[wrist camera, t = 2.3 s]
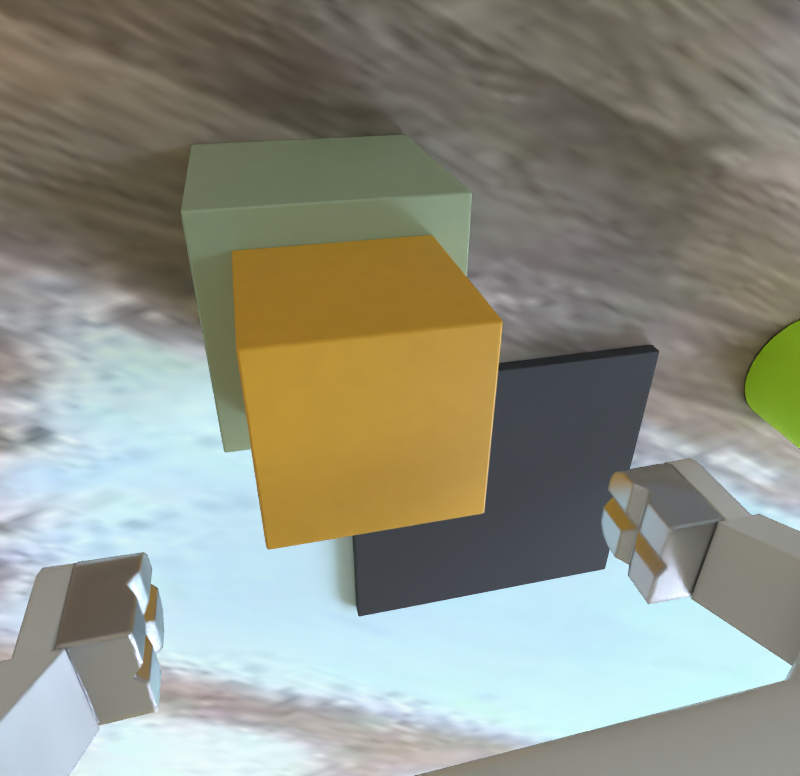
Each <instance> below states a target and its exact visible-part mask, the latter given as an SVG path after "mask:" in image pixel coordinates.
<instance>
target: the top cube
mask: <svg viewBox="0 0 800 776" xmlns="http://www.w3.org/2000/svg"><path fill="white" fill-rule="evenodd" d="M231 254H232V276H233V297H234V318H235V339H236V354H237V361H238V367H239V374H240V380H241V387H242V393H243V400H244V406H245V413H246V419H247V425H248V432H249V438H250V445H251V451H252V458H253V464H254V471H255V477H256V484H257V490H258V497H259V503H260V510H261V516H262V523H263V529H264V536H265V542H266V547H267V549H275V548H281V547H287V546H293V545H299V544H305V543H311V542H317V541H323V540H329V539H335V538H341V537H346V536H352V535H358V534H364V533H370V532H376V531H382V530H388V529H394V528H400V527H406V526H412V525H418V524H423V523H429V522H435V521H441V520H447V519H453V518H459V517H465V516H471V515H477V514H482V513H484V510H485V499H486V489H487V479H488V469H489V459H490V448H491V438H492V428H493V418H494V408H495V397H496V387H497V377H498V367H499V357H500V346H501V336H502V326H503V321H502V320H501V318H500V317H499V316H498V315H497V313H496V312H495V311H494V310H493V309H492V307H491V306H490V305H489V304H488V302H487V301H486V300H485V299H484V297H483V296H482V295H481V294H480V293H479V291H478V290H477V289H476V288H475V286H474V285H473V284H472V283H471V282H470V280H469V279H468V278H467V277H466V275H465V274H464V273H463V272H462V271H461V269H460V268H459V267H458V266H457V264H456V263H455V262H454V261H453V259H452V258H451V257H450V256H449V255H448V253H447V252H446V251H445V250H444V248H443V247H442V246H441V245H440V244H439V242H438V241H437V240H436V239H435V237H434V236H433V235H424V236H411V237H399V238H386V239H373V240H361V241H348V242H335V243H323V244H310V245H297V246H285V247H272V248H260V249H247V250H234V251H232V253H231Z"/></svg>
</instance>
